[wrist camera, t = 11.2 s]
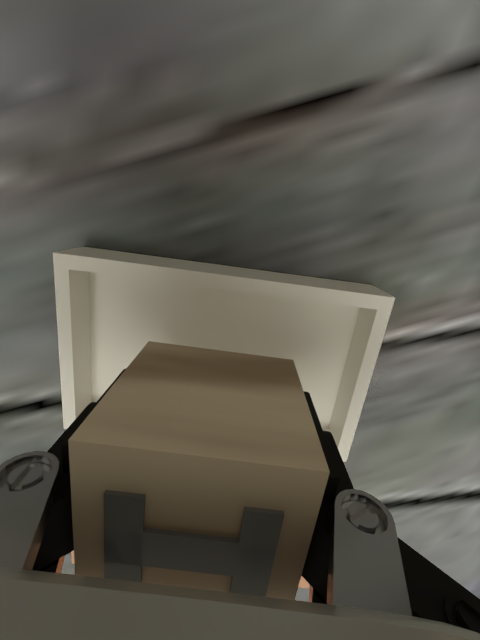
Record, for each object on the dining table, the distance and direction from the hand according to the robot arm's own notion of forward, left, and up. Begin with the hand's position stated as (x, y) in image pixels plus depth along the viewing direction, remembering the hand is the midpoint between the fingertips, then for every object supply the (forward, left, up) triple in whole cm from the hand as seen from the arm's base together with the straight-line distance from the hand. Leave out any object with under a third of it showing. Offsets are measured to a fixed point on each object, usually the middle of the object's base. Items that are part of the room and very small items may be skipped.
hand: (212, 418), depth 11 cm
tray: (0, 0, -6) cm, 6 cm away
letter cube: (0, 0, 0) cm, 0 cm away
